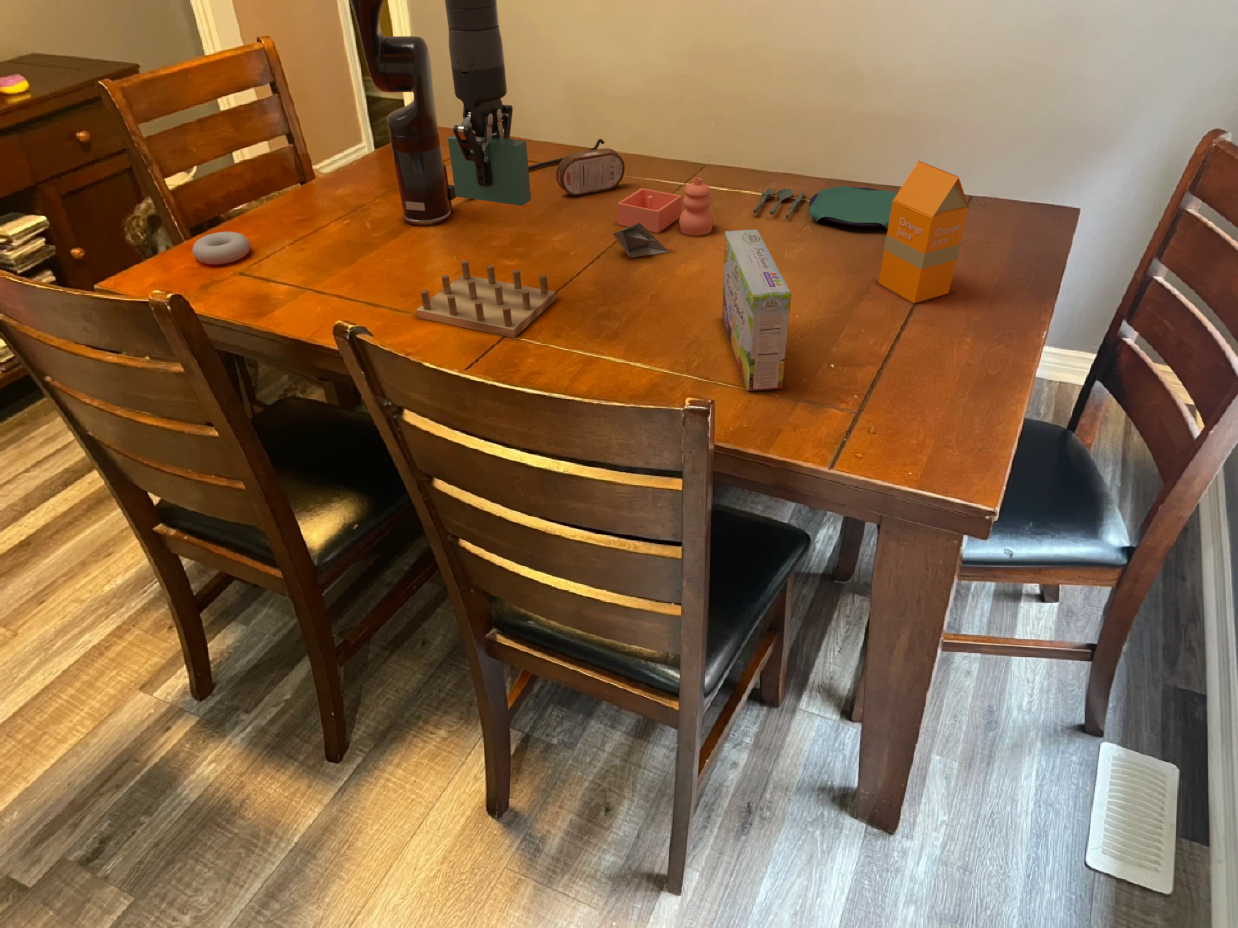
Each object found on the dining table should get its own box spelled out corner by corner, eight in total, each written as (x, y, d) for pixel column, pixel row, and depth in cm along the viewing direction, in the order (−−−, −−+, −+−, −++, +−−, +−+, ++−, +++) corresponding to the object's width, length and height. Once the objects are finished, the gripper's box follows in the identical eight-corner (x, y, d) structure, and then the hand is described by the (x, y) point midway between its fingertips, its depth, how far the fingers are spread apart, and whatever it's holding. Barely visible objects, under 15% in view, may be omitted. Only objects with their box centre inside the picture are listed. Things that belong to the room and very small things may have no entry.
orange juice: (913, 303, 139) (939, 181, 127) (877, 282, 145) (898, 164, 133) (949, 292, 141) (978, 172, 129) (912, 272, 148) (936, 155, 136)
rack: (463, 282, 148) (460, 258, 146) (555, 299, 142) (554, 274, 140) (417, 317, 138) (412, 292, 136) (514, 338, 132) (511, 311, 130)
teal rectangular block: (465, 190, 137) (457, 132, 131) (531, 199, 133) (526, 140, 127) (455, 196, 135) (447, 137, 129) (522, 206, 131) (517, 145, 125)
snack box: (718, 320, 135) (723, 229, 126) (753, 318, 136) (760, 227, 127) (745, 393, 119) (753, 293, 110) (784, 390, 119) (796, 291, 110)
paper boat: (650, 232, 161) (685, 233, 154) (642, 266, 162) (676, 268, 155) (603, 211, 153) (638, 211, 146) (595, 247, 153) (629, 248, 147)
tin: (620, 183, 186) (619, 143, 181) (627, 187, 184) (626, 148, 179) (556, 195, 181) (554, 155, 176) (562, 200, 179) (559, 159, 174)
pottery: (617, 224, 168) (616, 174, 162) (641, 208, 174) (641, 159, 168) (700, 241, 160) (702, 190, 154) (721, 224, 167) (724, 174, 161)
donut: (184, 266, 156) (233, 269, 155) (178, 248, 154) (227, 251, 153) (215, 244, 164) (262, 246, 162) (209, 227, 162) (257, 229, 160)
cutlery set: (904, 239, 159) (906, 227, 158) (747, 220, 168) (747, 208, 167) (916, 202, 174) (918, 191, 172) (770, 186, 183) (771, 175, 181)
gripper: (480, 49, 128) (492, 165, 138) (427, 70, 118) (445, 194, 128) (524, 52, 126) (533, 170, 136) (474, 74, 115) (489, 200, 126)
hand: (490, 181), depth 132 cm, fingers closed on teal rectangular block, 3 cm apart
